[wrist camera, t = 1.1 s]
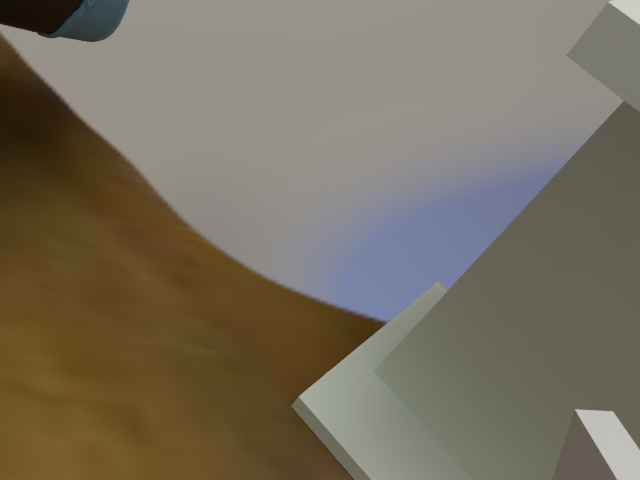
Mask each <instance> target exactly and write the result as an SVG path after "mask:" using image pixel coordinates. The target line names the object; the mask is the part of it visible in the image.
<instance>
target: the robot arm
mask: <svg viewBox="0 0 640 480" xmlns="http://www.w3.org/2000/svg"><path fill="white" fill-rule="evenodd" d="M128 3H129V0H0V24H3V25H8V26H11V27H16V28H20V29H24V30H28V31H32V32H37V33H38V34H39V35H41V36H44V37H47V38H56V37H65V38H70V39H76V40H81V41H87V42H96V41H101V40H104V39H106V38H107V37H109V36H110V35H111V34H113V33H114V31H115V30H116V29H117V27H118V26H119V24H120V22H121V20H122V18H123V16H124V14H125V11H126V8H127V6H128ZM552 480H640V450H639V448H638V447H637V445H636V444H635V442H634V441H633V439H632V438H631V437H630V435H629V434H628V432H627V431H626V429H625V428H624V426H623V425H622V424H621V422H620V421H619V419H618V418H617V416H616V415H615V413H614V412H613V411H597V410H579V409H575V410H574V413H573V416H572V419H571V422H570V425H569V428H568V431H567V435H566V438H565V441H564V444H563V447H562V450H561V453H560V456H559V459H558V462H557V466H556V469H555V472H554V475H553V478H552Z"/></svg>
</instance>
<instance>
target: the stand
mask: <svg viewBox="0 0 640 480" xmlns="http://www.w3.org/2000/svg"><path fill="white" fill-rule="evenodd" d="M566 56H568V57H569V58H570V59H571V60H573V61H574V62H575V63H577V64H578V65H579V66H581V67H582V68H583V69H584V70H586V71H587V72H588V73H590V74H591V75H592V76H593V77H595V78H596V79H597V80H599V81H600V82H601V83H602V84H604V85H605V86H606V87H608V88H609V89H610V90H612V91H613V92H614V93H615V94H617V95H618V96H619V97H621V98H622V99H623V100H624V101H623V103H621V105H620V106H619V107H618V108H617V109H616V110H615V111H614V112H613V114H611V116H610V117H609V118H608V119H607V120H606V121H605V122H604V123H603V124H602V125H601V126H600V127H599V128H598V130H596V132H595V133H594V134H593V135H592V136H591V137H590V138H589V139H588V140H587V141H586V142H585V143H584V144H583V146H582V147H581V148H580V149H579V150H578V151H577V152H576V153H575V154H574V155H573V156H572V158H571V159H570V160H569V161H568V162H567V163H566V164H565V165H564V166H563V167H562V168H561V169H560V170H559V172H558V173H557V174H556V175H555V176H554V177H553V178H552V179H551V180H550V181H549V182H548V184H546V186H545V187H544V188H543V189H542V190H541V191H540V192H539V193H538V194H537V195H536V196H535V197H534V199H533V200H532V201H531V202H530V203H529V204H528V205H527V206H526V207H525V208H524V209H523V210H522V211H521V213H520V214H519V215H518V216H517V217H516V218H515V219H514V220H513V221H512V222H511V223H510V224H509V225H508V227H507V228H506V229H505V230H504V231H503V232H502V233H501V234H500V235H499V236H498V237H497V238H496V240H495V241H494V242H493V243H492V244H491V245H490V246H489V247H488V248H487V249H486V250H485V251H484V253H483V254H482V255H481V256H480V257H479V258H478V259H477V260H476V261H475V262H474V263H473V264H472V265H471V266H470V268H469V269H468V270H467V271H466V272H465V273H464V274H463V275H462V276H461V277H460V278H459V279H458V281H457V282H456V283H455V284H454V285H453V286H452V287H451V288H450V289H449V290H447V289H445V288H444V286H442V285H441V284H440V283H439V282H436V283H435V284H434V285H433V286H432V287H431V288H429V289H428V290H427V291H426V292H424V293H423V294H422V295H421V296H420V297H418V298H417V299H416V300H415V301H414V302H412V303H411V304H410V305H409V306H407V307H406V308H405V309H404V310H403V311H401V312H400V313H399V314H398V315H397V316H395V317H394V318H393V319H392V320H390V321H389V322H388V323H387V324H386V325H384V326H383V327H382V328H381V329H380V330H378V331H377V332H376V333H375V334H374V335H372V336H371V337H370V338H369V339H367V340H366V341H365V342H364V343H363V344H361V345H360V346H359V347H358V348H357V349H355V350H354V351H353V352H352V353H351V354H349V355H348V356H347V357H346V358H344V359H343V360H342V361H341V362H340V363H338V364H337V365H336V366H335V367H334V368H332V369H331V370H330V371H329V372H328V373H326V374H325V375H324V376H323V377H321V378H320V379H319V380H318V381H317V382H315V383H314V384H313V385H312V386H311V387H309V388H308V389H307V390H306V391H305V392H303V393H302V394H301V395H300V396H299V397H298V398H297V399H296V400H295V402H294V403H293V404H292V405H291V407H292V408H293V409H294V410H295V411H296V413H297V414H298V415H299V416H300V417H301V418H302V420H303V421H304V422H305V423H306V424H307V425H308V427H309V428H310V429H311V430H312V431H313V432H314V433H315V435H316V436H317V437H318V438H319V439H320V440H321V442H322V443H323V444H324V445H325V446H326V447H327V449H328V450H329V451H330V452H331V453H332V454H333V456H334V457H335V458H336V459H337V460H338V461H339V462H340V464H341V465H342V466H343V467H344V468H345V469H346V471H347V472H348V473H349V474H350V475H351V476H352V478H353V479H354V480H552V478H553V475H554V472H555V469H556V466H557V462H558V459H559V456H560V453H561V450H562V447H563V444H564V441H565V438H566V435H567V431H568V428H569V425H570V422H571V419H572V416H573V413H574V410H575V409H579V410H597V411H613V412H614V413H615V415H616V416H617V418H618V419H619V421H620V422H621V424H622V425H623V426H624V428H625V429H626V431H627V432H628V434H629V435H630V437H631V438H632V439H633V441H634V442H635V444H636V445H637V447H638V448H639V450H640V0H613V1H610V2H608V3H607V4H606V6H605V7H604V8H603V9H602V11H601V12H600V13H599V14H598V16H597V17H596V18H595V20H594V21H593V22H592V23H591V25H590V26H589V28H587V30H586V31H585V32H584V33H583V35H582V36H581V38H580V39H579V40H578V41H577V42H576V44H575V45H574V46H573V47H572V49H571V50H570V51H569V53H568V54H567V55H566Z"/></svg>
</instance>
